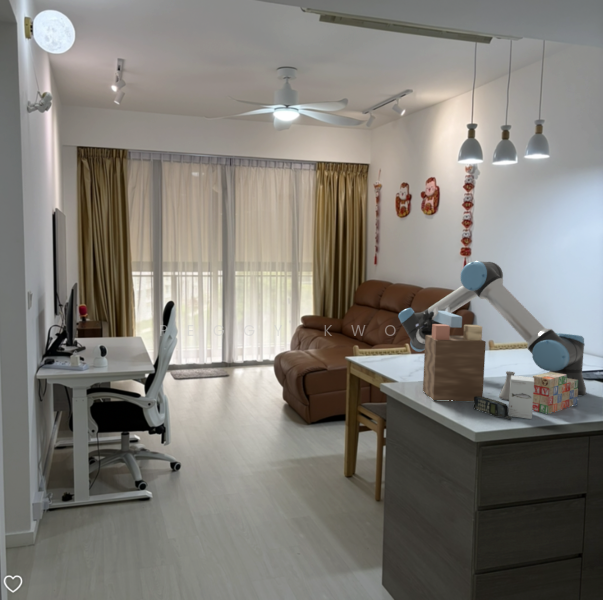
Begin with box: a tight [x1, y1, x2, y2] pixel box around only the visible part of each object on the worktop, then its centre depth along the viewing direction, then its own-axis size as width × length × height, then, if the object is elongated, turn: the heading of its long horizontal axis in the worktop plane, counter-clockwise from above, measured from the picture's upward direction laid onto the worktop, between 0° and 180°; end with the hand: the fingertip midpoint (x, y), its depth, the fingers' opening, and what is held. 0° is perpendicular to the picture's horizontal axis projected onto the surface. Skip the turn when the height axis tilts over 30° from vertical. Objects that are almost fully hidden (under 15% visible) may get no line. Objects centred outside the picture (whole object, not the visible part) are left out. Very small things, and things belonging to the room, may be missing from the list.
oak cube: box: [462, 324, 483, 340], centre depth 206 cm, size 5×5×5 cm
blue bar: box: [434, 311, 463, 328], centre depth 217 cm, size 22×4×4 cm, turn 4°
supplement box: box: [508, 375, 534, 420], centre depth 187 cm, size 7×7×13 cm
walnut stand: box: [422, 334, 486, 402], centre depth 209 cm, size 14×18×22 cm
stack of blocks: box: [532, 371, 579, 415], centre depth 198 cm, size 21×6×12 cm, turn 129°
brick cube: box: [432, 324, 451, 340], centre depth 206 cm, size 5×5×5 cm
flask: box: [498, 370, 516, 401], centre depth 209 cm, size 7×7×10 cm
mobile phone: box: [473, 396, 513, 420], centre depth 188 cm, size 5×3×15 cm
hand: (442, 310), depth 223 cm, fingers closed on blue bar, 4 cm apart
